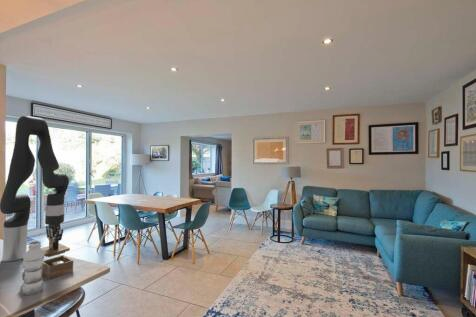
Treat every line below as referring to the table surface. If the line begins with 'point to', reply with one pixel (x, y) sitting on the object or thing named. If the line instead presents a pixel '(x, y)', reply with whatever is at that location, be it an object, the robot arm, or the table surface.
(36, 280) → the plastic bottle
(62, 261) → the cube offwhite
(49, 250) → the lid
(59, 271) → the box
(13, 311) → the table surface
